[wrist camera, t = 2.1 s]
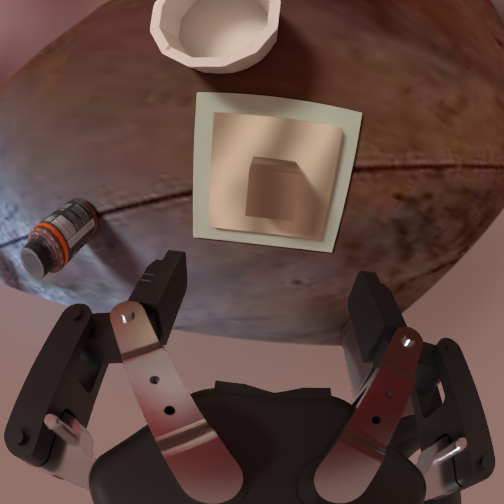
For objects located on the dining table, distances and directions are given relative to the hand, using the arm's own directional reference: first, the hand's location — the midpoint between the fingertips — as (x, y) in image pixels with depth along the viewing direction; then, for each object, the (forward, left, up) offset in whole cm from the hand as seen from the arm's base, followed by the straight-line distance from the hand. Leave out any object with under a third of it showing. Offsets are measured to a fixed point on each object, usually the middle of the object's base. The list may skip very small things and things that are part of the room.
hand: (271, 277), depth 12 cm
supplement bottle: (+24, +7, -17) cm, 30 cm away
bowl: (+6, -15, -17) cm, 24 cm away
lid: (0, 0, -17) cm, 17 cm away
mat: (0, 0, -17) cm, 17 cm away
